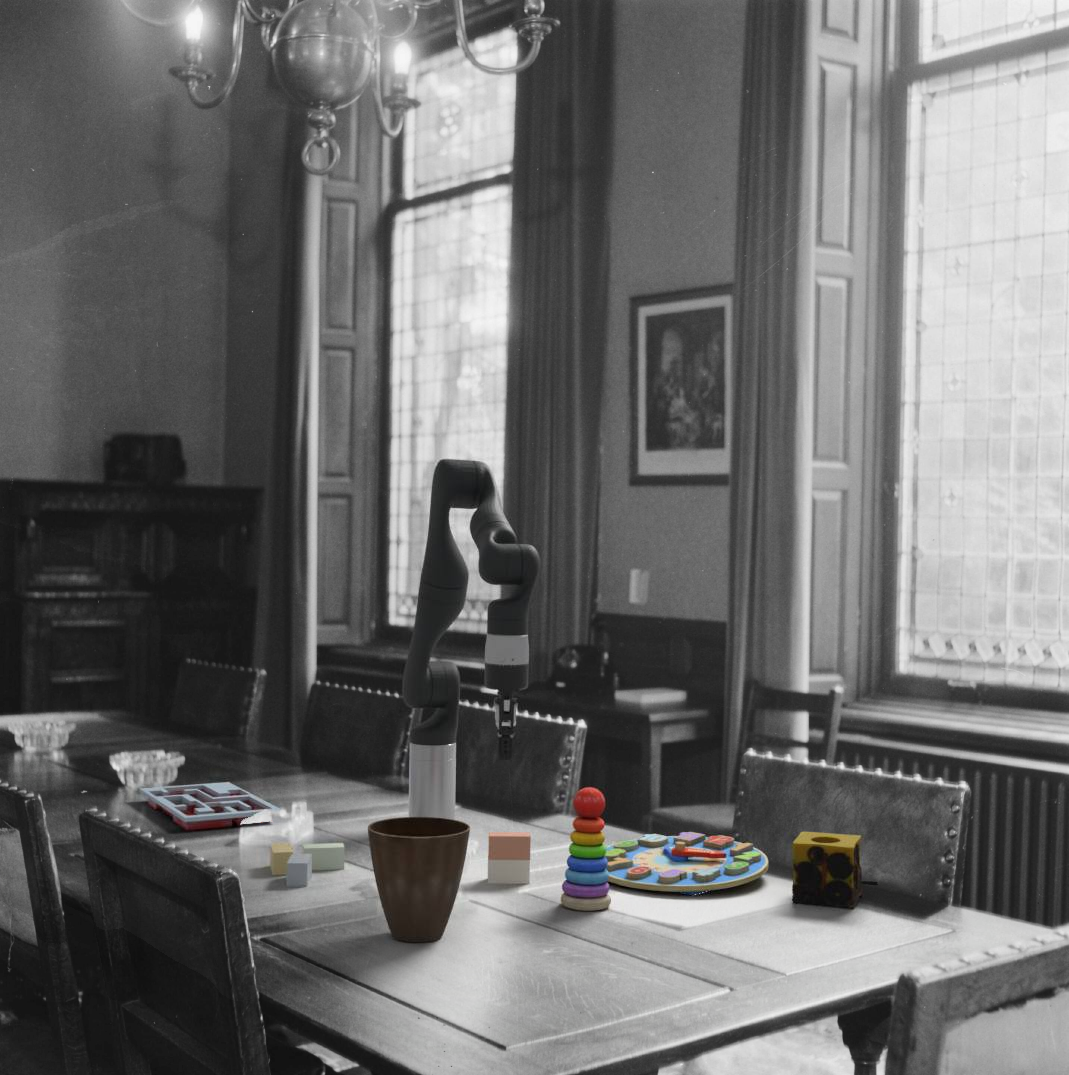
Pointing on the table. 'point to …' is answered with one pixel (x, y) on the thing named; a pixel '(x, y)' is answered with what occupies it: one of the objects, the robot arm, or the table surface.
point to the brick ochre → (280, 858)
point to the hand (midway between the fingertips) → (504, 755)
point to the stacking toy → (587, 856)
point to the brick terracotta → (509, 846)
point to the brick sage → (326, 855)
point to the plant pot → (418, 872)
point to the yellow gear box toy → (827, 869)
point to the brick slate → (299, 870)
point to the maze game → (206, 804)
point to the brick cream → (508, 871)
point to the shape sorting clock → (684, 863)
